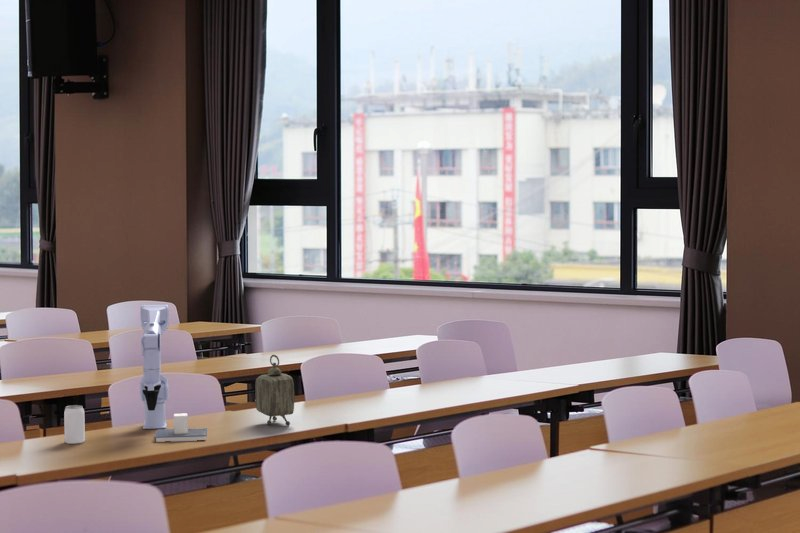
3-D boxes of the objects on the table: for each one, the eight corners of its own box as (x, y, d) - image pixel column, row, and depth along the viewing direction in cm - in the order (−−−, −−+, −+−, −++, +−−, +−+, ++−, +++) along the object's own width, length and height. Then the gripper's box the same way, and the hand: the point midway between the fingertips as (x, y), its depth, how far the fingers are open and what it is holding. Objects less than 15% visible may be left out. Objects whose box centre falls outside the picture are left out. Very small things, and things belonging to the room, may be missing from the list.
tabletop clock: (294, 426, 417) (294, 356, 415) (271, 429, 412) (270, 358, 410) (276, 419, 429) (276, 351, 427) (254, 422, 424) (253, 353, 423)
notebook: (157, 436, 403) (157, 429, 403) (207, 435, 405) (207, 428, 405) (155, 444, 391) (155, 436, 391) (206, 442, 393) (206, 435, 393)
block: (174, 431, 400) (173, 413, 399) (187, 430, 400) (187, 413, 400) (174, 433, 395) (173, 416, 395) (187, 433, 396) (187, 415, 396)
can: (79, 444, 387) (78, 408, 386) (61, 443, 388) (60, 408, 387) (88, 440, 393) (87, 405, 392) (70, 439, 394) (69, 404, 394)
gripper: (141, 365, 406) (141, 404, 407) (138, 372, 392) (138, 412, 393) (161, 365, 407) (162, 404, 408) (159, 371, 393) (160, 411, 394)
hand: (152, 408), depth 401 cm, fingers open, 7 cm apart
